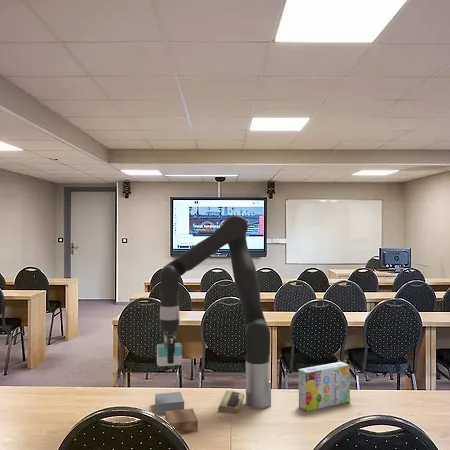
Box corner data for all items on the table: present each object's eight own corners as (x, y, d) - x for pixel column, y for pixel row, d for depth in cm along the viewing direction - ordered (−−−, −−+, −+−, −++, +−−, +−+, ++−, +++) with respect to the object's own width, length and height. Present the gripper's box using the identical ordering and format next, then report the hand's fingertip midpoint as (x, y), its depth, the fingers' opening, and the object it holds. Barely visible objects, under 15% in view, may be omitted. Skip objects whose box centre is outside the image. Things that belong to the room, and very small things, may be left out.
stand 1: (180, 401, 178) (180, 391, 178) (184, 412, 168) (184, 401, 168) (155, 404, 176) (155, 394, 176) (157, 414, 166) (157, 404, 166)
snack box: (341, 397, 183) (341, 360, 182) (350, 402, 177) (350, 364, 177) (297, 406, 173) (297, 368, 173) (306, 412, 168) (306, 372, 168)
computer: (239, 414, 167) (239, 406, 167) (217, 413, 168) (217, 404, 168) (244, 398, 183) (244, 390, 183) (225, 397, 184) (225, 389, 184)
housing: (179, 360, 176) (179, 342, 176) (182, 364, 170) (182, 346, 170) (156, 362, 173) (156, 344, 173) (158, 366, 168) (158, 347, 168)
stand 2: (192, 419, 162) (192, 408, 162) (197, 431, 152) (197, 420, 152) (165, 422, 160) (165, 411, 160) (168, 435, 150) (168, 423, 150)
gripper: (182, 320, 166) (182, 366, 166) (176, 313, 180) (176, 355, 180) (161, 321, 164) (161, 367, 164) (158, 313, 178) (158, 356, 178)
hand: (169, 360), depth 172 cm, fingers closed on housing, 5 cm apart
